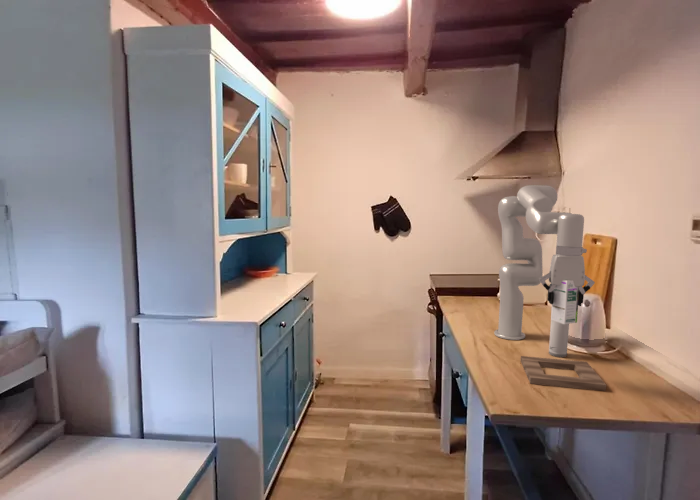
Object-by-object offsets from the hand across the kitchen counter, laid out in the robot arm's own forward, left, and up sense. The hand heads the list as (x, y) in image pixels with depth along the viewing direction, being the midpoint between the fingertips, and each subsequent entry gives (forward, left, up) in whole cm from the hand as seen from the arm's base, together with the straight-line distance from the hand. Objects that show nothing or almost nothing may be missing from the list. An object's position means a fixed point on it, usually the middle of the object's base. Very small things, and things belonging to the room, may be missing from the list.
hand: (564, 304), depth 145 cm
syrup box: (0, 0, -6) cm, 6 cm away
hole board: (0, 0, -24) cm, 24 cm away
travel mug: (-21, +4, -25) cm, 33 cm away
